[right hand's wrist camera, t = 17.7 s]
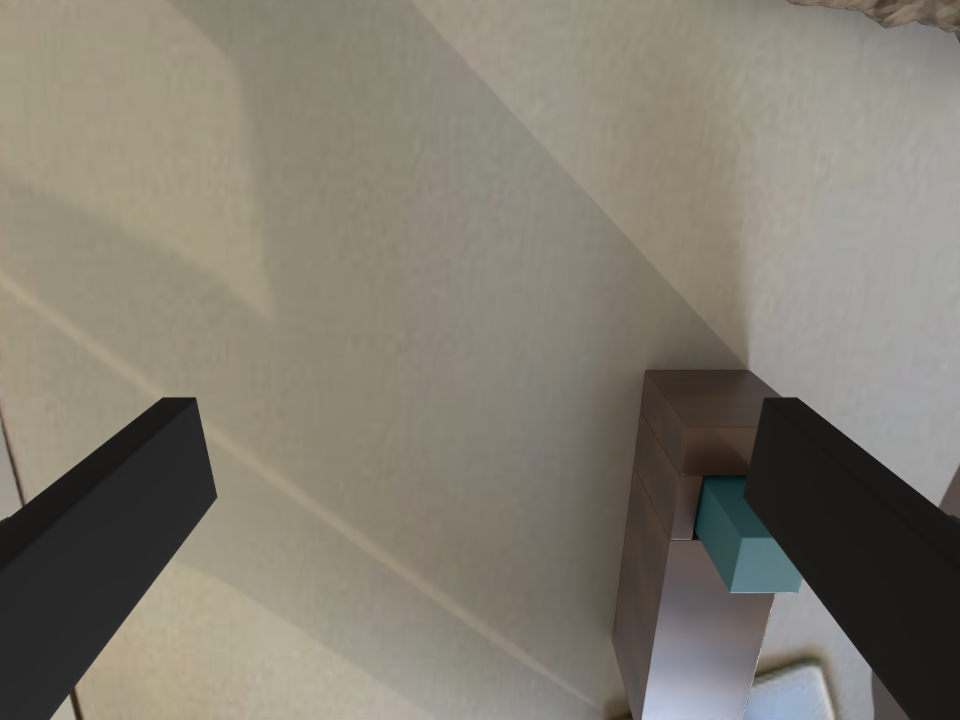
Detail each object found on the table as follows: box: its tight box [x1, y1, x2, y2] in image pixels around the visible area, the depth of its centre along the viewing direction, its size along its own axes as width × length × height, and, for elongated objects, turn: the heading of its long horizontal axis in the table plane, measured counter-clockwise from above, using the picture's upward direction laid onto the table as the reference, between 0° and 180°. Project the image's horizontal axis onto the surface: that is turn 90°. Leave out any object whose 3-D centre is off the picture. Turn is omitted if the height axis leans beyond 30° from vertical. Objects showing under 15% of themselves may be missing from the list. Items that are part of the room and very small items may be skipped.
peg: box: [694, 475, 803, 593], centre depth 37 cm, size 4×4×14 cm
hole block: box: [612, 370, 782, 720], centre depth 42 cm, size 28×8×9 cm, turn 0°
